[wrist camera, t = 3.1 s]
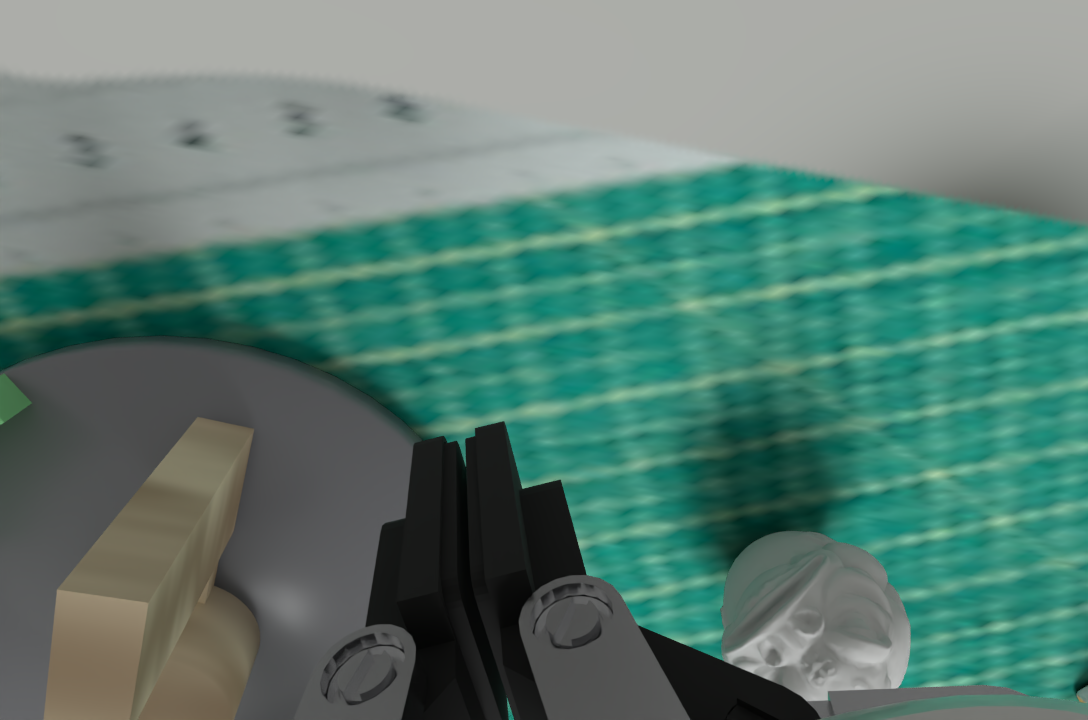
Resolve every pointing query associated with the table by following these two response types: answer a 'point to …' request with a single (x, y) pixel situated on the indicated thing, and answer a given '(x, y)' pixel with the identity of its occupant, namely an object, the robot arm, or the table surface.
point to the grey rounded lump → (814, 616)
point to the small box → (1083, 695)
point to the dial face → (264, 510)
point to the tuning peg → (159, 597)
